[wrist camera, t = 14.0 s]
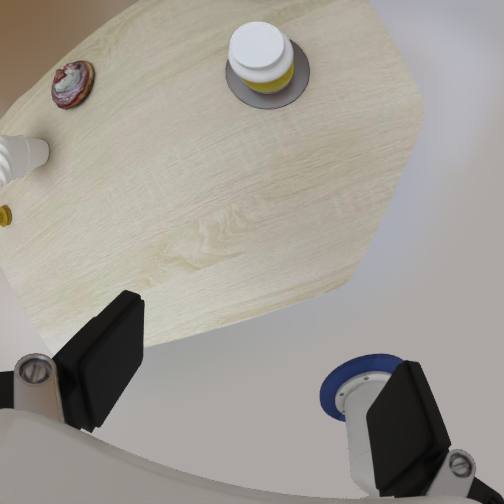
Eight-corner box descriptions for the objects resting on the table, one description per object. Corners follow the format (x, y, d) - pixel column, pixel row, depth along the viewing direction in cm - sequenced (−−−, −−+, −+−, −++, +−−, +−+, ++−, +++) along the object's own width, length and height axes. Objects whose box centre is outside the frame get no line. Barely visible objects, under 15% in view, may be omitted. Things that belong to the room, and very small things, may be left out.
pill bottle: (304, 73, 31) (309, 46, 21) (265, 104, 33) (254, 90, 23) (269, 38, 30) (259, 2, 19) (230, 69, 32) (206, 44, 21)
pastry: (93, 53, 32) (72, 47, 28) (99, 97, 35) (77, 94, 30) (55, 75, 34) (34, 73, 29) (60, 116, 36) (39, 117, 32)
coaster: (316, 43, 30) (316, 42, 29) (299, 117, 33) (299, 117, 33) (235, 29, 30) (235, 28, 30) (218, 101, 34) (217, 100, 33)
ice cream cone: (22, 141, 38) (-49, 155, 24) (50, 118, 36) (-27, 124, 22) (34, 184, 41) (-37, 209, 26) (63, 164, 39) (-15, 185, 24)
